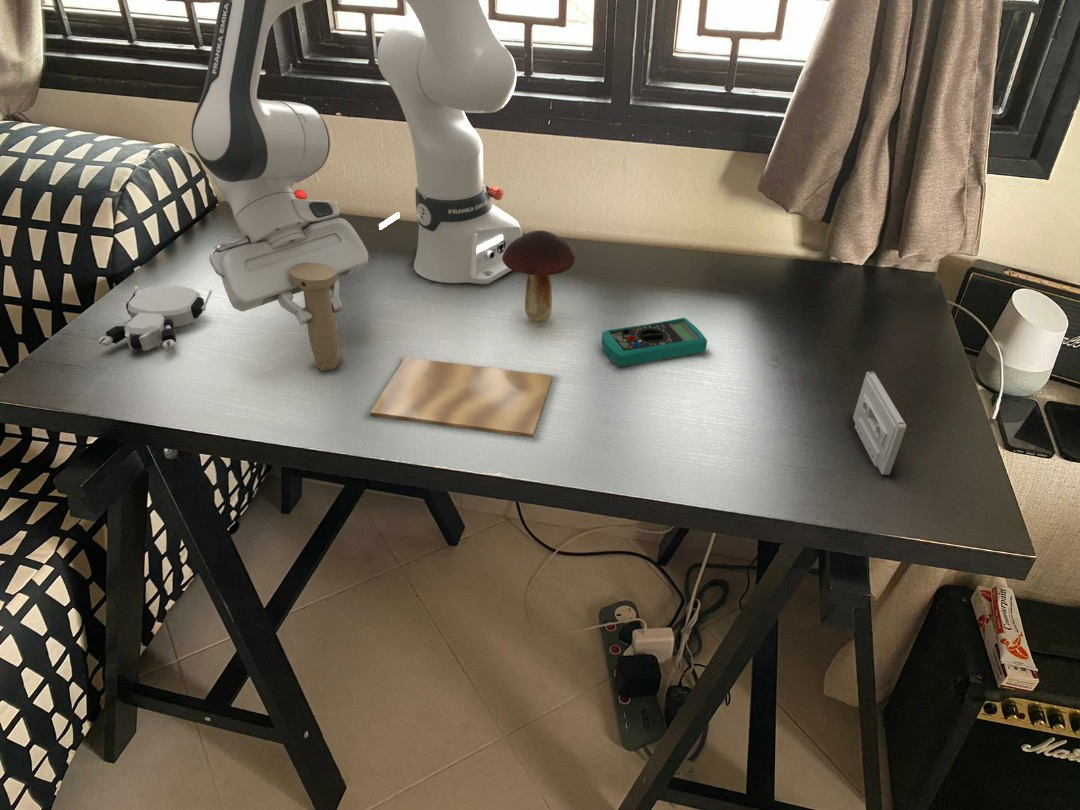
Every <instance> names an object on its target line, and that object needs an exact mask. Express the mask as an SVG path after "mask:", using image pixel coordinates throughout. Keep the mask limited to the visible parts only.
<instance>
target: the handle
mask: <svg viewBox="0 0 1080 810" xmlns="http://www.w3.org/2000/svg"><path fill="white" fill-rule="evenodd" d="M289 277H290V280H291V282H293V283H294V284H295V285H296V286H298V287H300V288H301V289H303V291H302V292H303V298H304V306H305V307H307V308H308V309H309V311H310V312H309V313H311V314H312V317H313V319H312V320H311V321H310V322H309V323H306V326H307V335H308V341H309V344H310V345H309V346H310V348H311V352H312V354H313V357H314V363H315V365H316V366H317V367H318V368H319V370H321V371H324V372H325V371H333V370H335V369H336V368H337V367H338V366H339V365H340V355H339V354H340V353H339V352H340V345H339V334H338V327H337V323H336V318H335V313H333V309H332V304H331V300H330V290H329V287H331V286H332V285H334V284H335V283H336V282H337V280H339V279H338V274H337V270H336V269H335V268H333V267H332V266H329V265H325V264H321V263H301V264H298V265H296V266H294V267H292V268H291V269H290V270H289ZM305 307H304V308H305Z"/></svg>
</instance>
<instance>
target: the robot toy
mask: <svg viewBox="0 0 1080 810" xmlns="http://www.w3.org/2000/svg"><path fill="white" fill-rule="evenodd" d="M138 289H139V287H138V285H135V286H134V288H133V291H132V293H131V295H130V297H129V299H128V300H127V301H126V303H125V309H126V311H127V314H128V315H129V317H130V319H129V320H128V322H127V323H126V324H125V325H115V326H113V327H112V328H110V329H108V330H107V331H105V336H101V337H99V339H98V344H99V345H102V346H104V347H107V346H110V345H111V344H118V343H120V342H121V341H123V340H125V339H126V342H127V345H128V348H129V350H132V351H134V350H135V351H141V350H142V351H144V352H146V351H150V350H151V349H154V348H160V347H161V345H162V348H163V349H164V350H169V348H170V349H173V348H175V347H176V345H177V337H176V336H177V335H176V331H174V328H175V327H183V326H186V325H188V324H191V323H194V321H195V320H196V319H198V318H199V317H200V315H201V314H202V313H203V312H205V311H206V310H207V305H208V301H209V300H210V298H211V295H212V293H213V291H212V290H213V289H209V290H208V294H207V297H206V299H205V300H204V298H203V297H202V296H201V293H200V292H199V291H197V290H195V289H193V288H190V287H185V286H180V285H157V286H154V285H153V286H148V287H146V288H142V289H140V290H138Z"/></svg>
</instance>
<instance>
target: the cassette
mask: <svg viewBox="0 0 1080 810" xmlns="http://www.w3.org/2000/svg"><path fill="white" fill-rule="evenodd" d="M852 420H853V423H854V424H855V425H854V426H853V427H854V429H855V431H856V433H857V435H858V437H859V439H860V440H861V442H862V444H863V446H864V448H865V450H866V452H867V455H868V456H869V458H870V460H871V462H872V464H873V466H874V467H876V468H878V470H879V472H880V474H881V475H883V476H890V475H891V472H892V469H893V466H894V464H895V461H896V458H897V456H898V452H899V449H900V446H901V443H902V441H903V439H904V436H905V432H906V429H907V424H906V423H905V421H904V419H903V418H902V416H901V414H900V413H899V411H898V409H897V408H896V405H895V404H894V403H893V401H892V399H891V398H890V396H889V394H888V393H887V391H886V389H885V387H884V386H883V384H882V382H881V381H880V379H879V378H878V376H877V374H876V373H875V371H866V372H865V376H864V379H863V382H862V386H861V389H860V392H859V396H858V400H857V403H856V405H855V410H854V412H853V415H852Z"/></svg>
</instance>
